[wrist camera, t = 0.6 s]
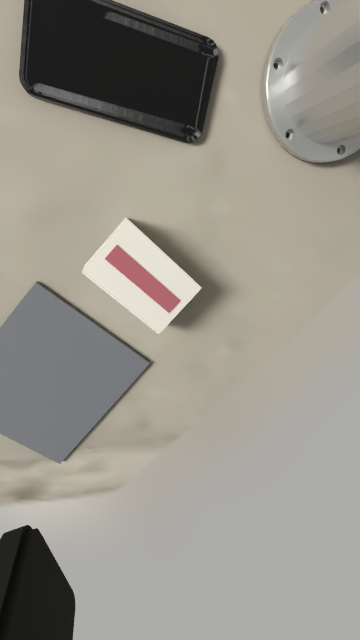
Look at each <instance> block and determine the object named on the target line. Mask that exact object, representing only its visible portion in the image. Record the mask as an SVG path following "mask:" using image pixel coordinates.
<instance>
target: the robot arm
mask: <svg viewBox="0 0 360 640" xmlns="http://www.w3.org/2000/svg"><path fill="white" fill-rule="evenodd" d="M273 65H275V66H276V69H275V68H274V66H273ZM262 95H263V104H264V110H265V114H266V118H267V121H268V124H269V126H270V128H271V130H272V132H273V135H274V136H275V137H276V139H277V140H278V142H279V143H280V144H281V146H282V147H284V148H285V149H286V150H287V151H288V152H289V153H290V154H292V155H294V156H295V157H297V158H299V159H301V160H305V161H308V162H313V163H325V162H332V161H336V160H340V159H343V158H345V157H347V156H349V155H351V154H353V153H355V152H356V151H358V150H359V149H360V0H313V1H311V2H310V3H308V4H307V5H305V6H304V7H302V8H301V9H300V10H299V11H298V12H297V13H296V14H295V15H294V16H293V17H292V18H291V19H290V20H289V21H288V22H287V23H286V25H285V26H284V27H283V28H282V30H281V31H280V32H279V34H278V36H277V38H276V39H275V41H274V43H273V45H272V47H271V50H270V52H269V55H268V58H267V61H266V65H265V70H264V75H263V90H262ZM286 134H287V135H288V136H287V138H286V136H285V135H286ZM74 616H75V597H74V593H73V590H72V589H71V587H70V585H69V583H68V581H67V579H66V578H65V576H64V574H63V572H62V571H61V569H60V567H59V565H58V563H57V562H56V560H55V558H54V556H53V554H52V553H51V551H50V549H49V547H48V545H47V544H46V542H45V540H44V538H43V536H42V535H41V533H40V532H39V530H38V529H37V528H36V529H32V528H31V527H30V526H29V525H26V526H23V527H20V528H18V529H15V530H12V531H9V532H6V533H4V534H3V535H2V537H1V539H0V640H72V639H73V627H74Z"/></svg>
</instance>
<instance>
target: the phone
mask: <svg viewBox="0 0 360 640" xmlns="http://www.w3.org/2000/svg"><path fill="white" fill-rule="evenodd" d="M218 54H219V53H218V48H217V46H216V43H215V42H214V41H213V40H212V39H210V38H209V37H206V36H203V35H201V34H198V33H196V32H193V31H190V30H188V29H185V28H183V27H180V26H177V25H175V24H172V23H170V22H167V21H164V20H162V19H159V18H157V17H154V16H151V15H149V14H146V13H144V12H141V11H138V10H136V9H133V8H131V7H128V6H125V5H123V4H120V3H118V2H115V1H112V0H25V1H24V15H23V28H22V42H21V56H20V70H19V77H20V82H21V84H22V86H23V87H24V89H25V90H26V91H27V93H28V94H30V95H31V96H32V97H35V98H37V99H40V100H44V101H47V102H51V103H54V104H57V105H61V106H64V107H67V108H71V109H74V110H77V111H81V112H84V113H88V114H91V115H94V116H98V117H101V118H104V119H108V120H111V121H115V122H118V123H121V124H125V125H128V126H131V127H135V128H138V129H142V130H145V131H148V132H152V133H155V134H158V135H162V136H165V137H168V138H172V139H175V140H179V141H182V142H186V143H190V142H193V141H195V140H196V139H198V138H199V136H200V135H201V133H202V130H203V125H204V121H205V116H206V111H207V107H208V102H209V98H210V93H211V89H212V84H213V80H214V75H215V71H216V66H217V62H218Z"/></svg>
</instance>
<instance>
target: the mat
mask: <svg viewBox="0 0 360 640" xmlns="http://www.w3.org/2000/svg"><path fill="white" fill-rule="evenodd" d="M149 364H150V361H148V360H147V359H146V358H144V357H143V356H141V355H140V354H138V353H137V352H136V351H134V350H133V349H131V348H130V347H129V346H127V345H126V344H124V343H123V342H122V341H120V340H119V339H117V338H116V337H115V336H113V335H112V334H110V333H109V332H108V331H106V330H105V329H103V328H102V327H101V326H99V325H98V324H96V323H95V322H94V321H92V320H91V319H89V318H88V317H87V316H85V315H84V314H82V313H81V312H79V311H78V310H77V309H75V308H74V307H72V306H71V305H70V304H68V303H67V302H65V301H64V300H63V299H61V298H60V297H58V296H57V295H56V294H54V293H53V292H51V291H50V290H49V289H47V288H46V287H44V286H43V285H42V284H40V283H39V282H36V283H35V285H34V286H33V287H32V288H31V290H30V291H29V292H28V293H27V295H26V296H25V297H24V298H23V300H22V301H21V302H20V303H19V305H18V306H17V307H16V308H15V310H14V311H13V312H12V314H11V315H10V316H9V317H8V319H7V320H6V321H5V322H4V324H3V325H2V326H1V327H0V434H2V435H4V436H6V437H8V438H10V439H12V440H14V441H16V442H18V443H20V444H22V445H24V446H26V447H28V448H30V449H32V450H34V451H36V452H38V453H39V454H41V455H43V456H45V457H47V458H49V459H51V460H53V461H55V462H57V463H59V464H60V463H61V462H62V461H63V460H64V459H65V458H66V457H67V456H68V454H69V453H70V452H71V451H72V450H73V449H74V448H75V447H76V445H77V444H78V443H79V442H80V441H81V440H82V439H83V438H84V437H85V435H86V434H87V433H88V432H89V431H90V430H91V429H92V428H93V426H94V425H95V424H96V423H97V422H98V421H99V420H100V419H101V418H102V416H103V415H104V414H105V413H106V412H107V411H108V410H109V409H110V407H111V406H112V405H113V404H114V403H115V402H116V401H117V400H118V398H119V397H120V396H121V395H122V394H123V393H124V392H125V391H126V390H127V388H128V387H129V386H130V385H131V384H132V383H133V382H134V381H135V379H136V378H137V377H138V376H139V375H140V374H141V373H142V372H143V371H144V369H145V368H146V367H147V366H148V365H149Z"/></svg>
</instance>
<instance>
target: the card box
mask: <svg viewBox="0 0 360 640" xmlns="http://www.w3.org/2000/svg"><path fill="white" fill-rule="evenodd" d="M82 273H83V274H84V275H85V276H87V277H88V278H89V279H90V280H92V281H93V282H94V283H95V284H97V285H98V286H99V287H100V288H102V289H103V290H104V291H105V292H107V293H108V294H109V295H110V296H112V297H113V298H114V299H115V300H117V301H118V302H119V303H120V304H122V305H123V306H124V307H125V308H127V309H128V310H129V311H130V312H132V313H133V314H134V315H135V316H137V317H138V318H139V319H140V320H142V321H143V322H144V323H145V324H146V325H148V326H149V327H150V328H151V329H153V330H154V331H155V332H156V333H158V334H160V333H161V331H162V330H163V329H164V328H165V327H166V326H167V325H168V324H169V323H170V322H171V321H172V320H173V319H174V318H175V316H176V315H177V314H178V313H179V312H180V311H181V310H182V309H183V308H184V307H185V306H186V305H187V304H188V302H189V301H190V300H191V299H192V298H193V297H194V296H195V295H196V294H197V293H198V292H199V291H200V290H201V288H202V287H201V286H200V285H199V284H198V283H197V282H196V281H195V280H194V279H192V278H191V277H190V276H189V275H188V274H187V273H186V272H185V271H184V270H183V269H182V268H181V267H180V266H178V265H177V264H176V263H175V262H174V261H173V260H172V259H171V258H170V257H169V256H168V255H167V254H165V253H164V252H163V251H162V250H161V249H160V248H159V247H158V246H157V245H156V244H155V243H154V242H153V241H151V240H150V239H149V238H148V237H147V236H146V235H145V234H144V233H143V232H142V231H141V230H140V229H139V228H137V227H136V226H135V225H134V224H133V223H132V222H131V221H130V220H129V219H128V218H127V217H126V218H125V219H124V220H123V221H122V223H121V224H120V225H119V226H118V227H117V228H116V230H115V231H114V232H113V233H112V234H111V235H110V237H109V238H108V239H107V240H106V241H105V242H104V244H103V245H102V246H101V247H100V248H99V249H98V251H97V252H96V253H95V254H94V255H93V256H92V258H91V259H90V260H89V261H88V262H87V263H86V264H85V266H84V268H83V270H82Z"/></svg>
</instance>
